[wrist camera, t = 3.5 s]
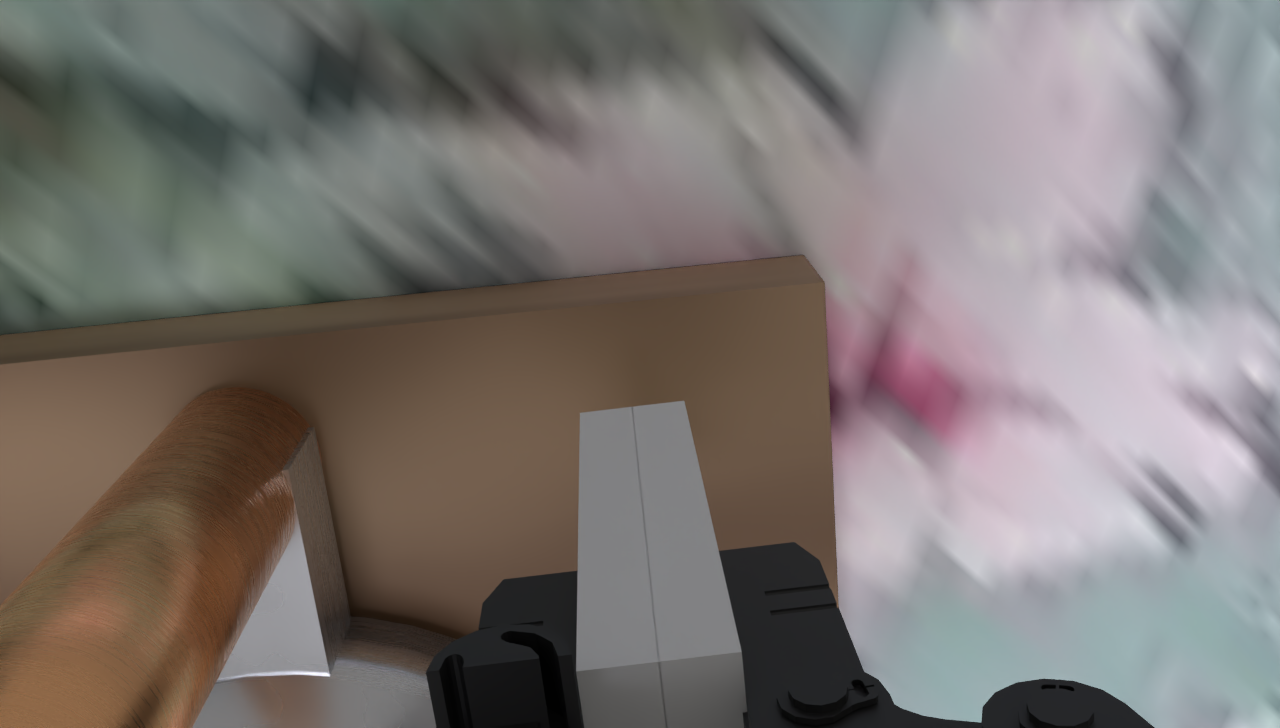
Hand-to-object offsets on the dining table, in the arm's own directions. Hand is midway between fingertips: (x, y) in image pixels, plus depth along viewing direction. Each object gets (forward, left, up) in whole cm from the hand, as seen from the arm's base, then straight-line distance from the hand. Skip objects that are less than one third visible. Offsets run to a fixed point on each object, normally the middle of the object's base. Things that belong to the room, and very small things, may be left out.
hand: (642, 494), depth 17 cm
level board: (+9, -7, -5) cm, 12 cm away
